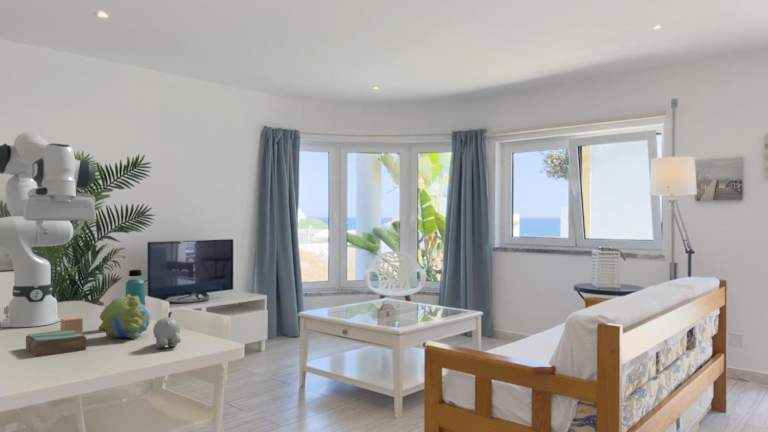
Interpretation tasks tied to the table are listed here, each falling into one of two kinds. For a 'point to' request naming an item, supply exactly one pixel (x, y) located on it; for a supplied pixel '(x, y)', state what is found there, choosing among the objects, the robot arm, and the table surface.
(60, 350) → the green lidded wooden box
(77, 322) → the terracotta block
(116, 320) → the earth globe model
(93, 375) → the table surface
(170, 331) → the round bodied animal figurine
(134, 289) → the beverage bottle
